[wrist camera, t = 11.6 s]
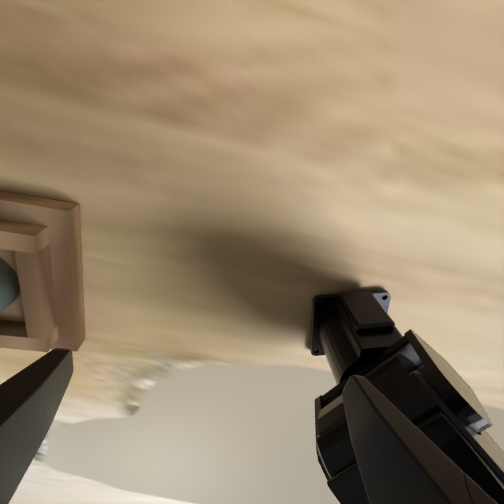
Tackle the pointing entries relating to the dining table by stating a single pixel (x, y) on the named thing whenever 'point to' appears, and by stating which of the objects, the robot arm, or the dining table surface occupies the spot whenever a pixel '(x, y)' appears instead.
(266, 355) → the dining table surface
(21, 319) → the brown wooden square tray
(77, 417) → the dining table surface
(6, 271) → the cup
